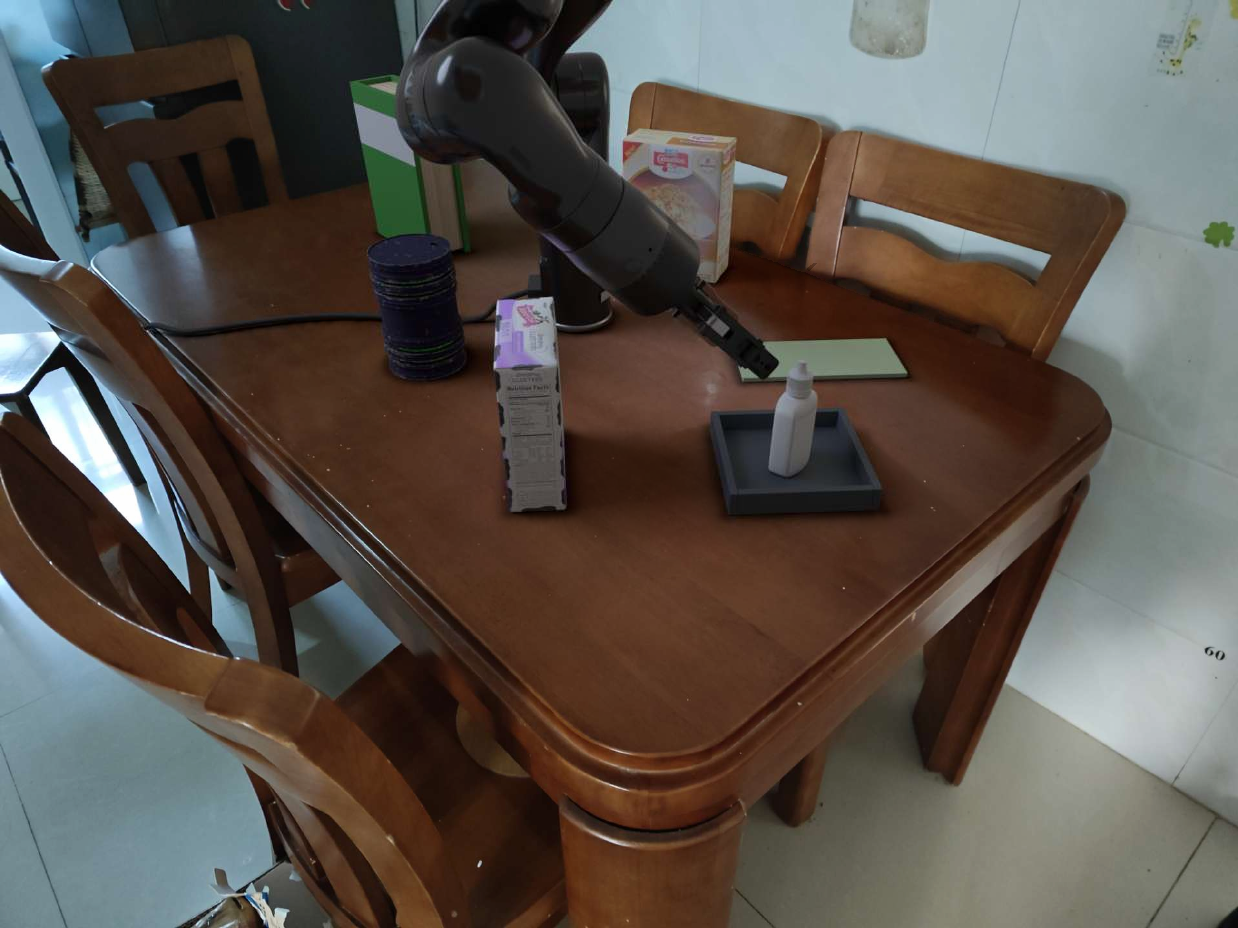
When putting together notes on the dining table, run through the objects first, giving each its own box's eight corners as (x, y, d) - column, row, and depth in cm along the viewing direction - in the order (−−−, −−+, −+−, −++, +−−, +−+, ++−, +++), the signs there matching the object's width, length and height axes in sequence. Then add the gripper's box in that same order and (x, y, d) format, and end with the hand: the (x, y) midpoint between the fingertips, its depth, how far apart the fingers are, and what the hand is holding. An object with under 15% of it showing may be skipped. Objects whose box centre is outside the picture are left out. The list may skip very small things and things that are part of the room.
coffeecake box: (622, 270, 127) (620, 139, 115) (638, 254, 132) (638, 126, 121) (715, 285, 122) (723, 149, 111) (728, 266, 128) (737, 135, 116)
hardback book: (470, 251, 134) (450, 93, 120) (430, 263, 130) (405, 101, 116) (416, 222, 145) (392, 74, 131) (378, 233, 141) (349, 82, 127)
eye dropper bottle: (824, 467, 85) (840, 364, 77) (778, 482, 83) (791, 378, 76) (798, 445, 88) (813, 345, 81) (754, 459, 86) (764, 357, 79)
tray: (728, 515, 80) (730, 494, 78) (709, 430, 91) (710, 411, 90) (878, 510, 80) (883, 489, 78) (840, 426, 92) (843, 406, 90)
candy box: (511, 434, 91) (495, 297, 81) (564, 431, 92) (555, 294, 82) (508, 514, 80) (490, 366, 70) (568, 510, 80) (559, 362, 71)
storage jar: (400, 388, 100) (377, 272, 91) (379, 354, 107) (356, 242, 98) (478, 368, 103) (463, 254, 94) (453, 336, 110) (437, 227, 101)
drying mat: (742, 382, 100) (743, 378, 99) (731, 346, 107) (732, 342, 107) (906, 377, 100) (907, 373, 100) (884, 342, 107) (885, 338, 107)
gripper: (701, 240, 58) (819, 352, 69) (625, 182, 69) (736, 286, 79) (632, 321, 60) (757, 419, 70) (568, 252, 71) (685, 346, 81)
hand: (746, 348), depth 75 cm, fingers open, 8 cm apart
